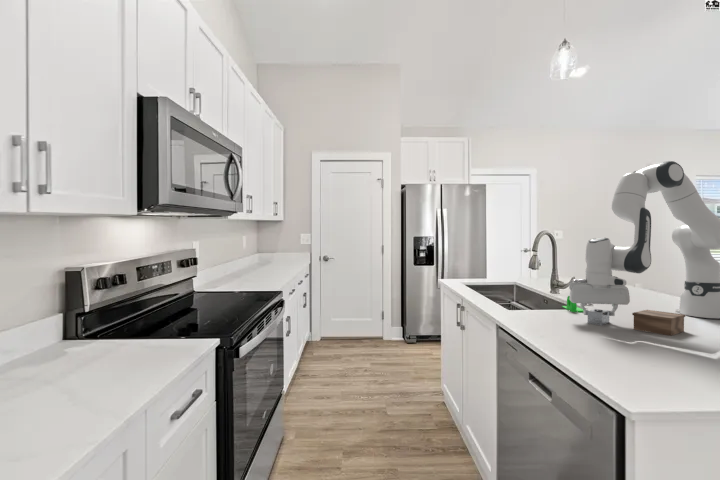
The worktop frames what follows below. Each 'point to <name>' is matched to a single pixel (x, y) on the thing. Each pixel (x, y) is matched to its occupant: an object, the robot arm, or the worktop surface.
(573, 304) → the mechanical part
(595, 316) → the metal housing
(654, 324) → the walnut stand
